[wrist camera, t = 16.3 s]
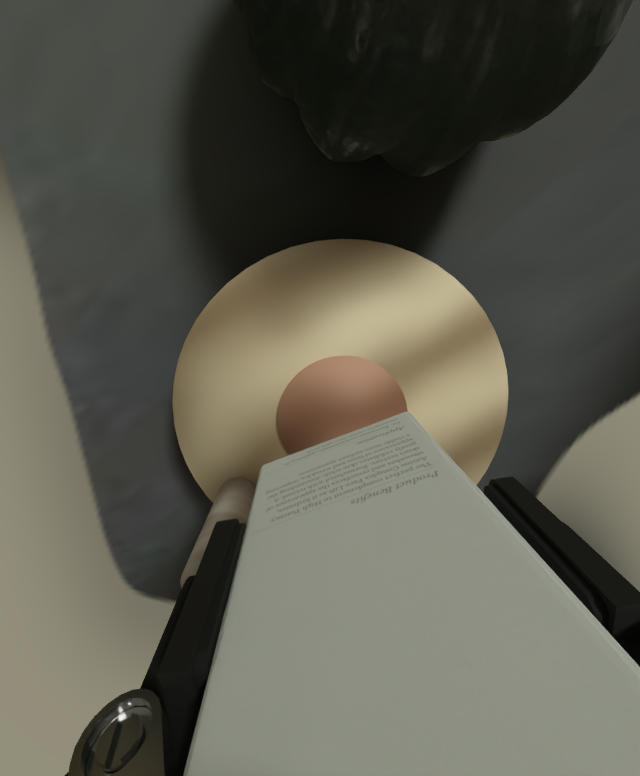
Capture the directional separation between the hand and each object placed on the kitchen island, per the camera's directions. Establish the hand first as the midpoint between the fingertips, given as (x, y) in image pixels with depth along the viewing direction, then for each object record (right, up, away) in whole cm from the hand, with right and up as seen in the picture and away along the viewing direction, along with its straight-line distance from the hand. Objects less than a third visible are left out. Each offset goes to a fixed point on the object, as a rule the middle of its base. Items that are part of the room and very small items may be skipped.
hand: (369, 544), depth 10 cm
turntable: (0, +3, +11) cm, 11 cm away
